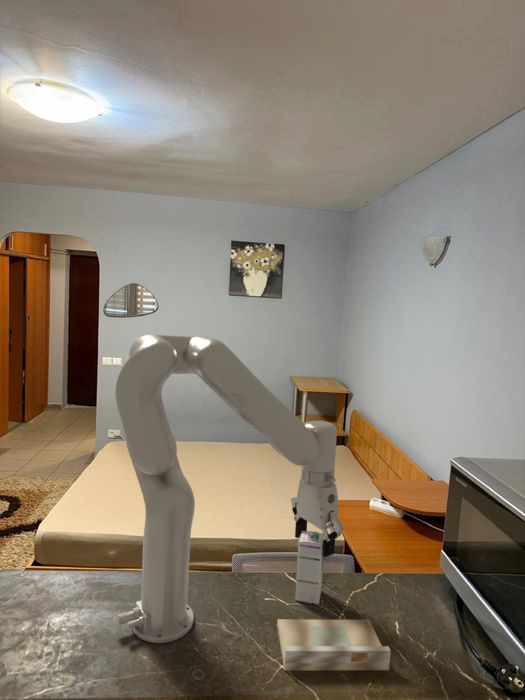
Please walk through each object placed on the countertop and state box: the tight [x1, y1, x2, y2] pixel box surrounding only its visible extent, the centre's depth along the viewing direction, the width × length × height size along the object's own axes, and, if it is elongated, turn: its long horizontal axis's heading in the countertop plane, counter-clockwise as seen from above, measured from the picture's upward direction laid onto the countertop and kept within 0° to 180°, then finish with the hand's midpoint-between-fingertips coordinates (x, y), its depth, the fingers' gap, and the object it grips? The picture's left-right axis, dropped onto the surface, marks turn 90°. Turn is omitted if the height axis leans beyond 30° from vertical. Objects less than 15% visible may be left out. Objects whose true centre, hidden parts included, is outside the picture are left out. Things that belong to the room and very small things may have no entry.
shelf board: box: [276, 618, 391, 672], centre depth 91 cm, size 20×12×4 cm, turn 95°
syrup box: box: [294, 530, 325, 606], centre depth 107 cm, size 6×6×14 cm
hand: (313, 545), depth 107 cm, fingers open, 9 cm apart
